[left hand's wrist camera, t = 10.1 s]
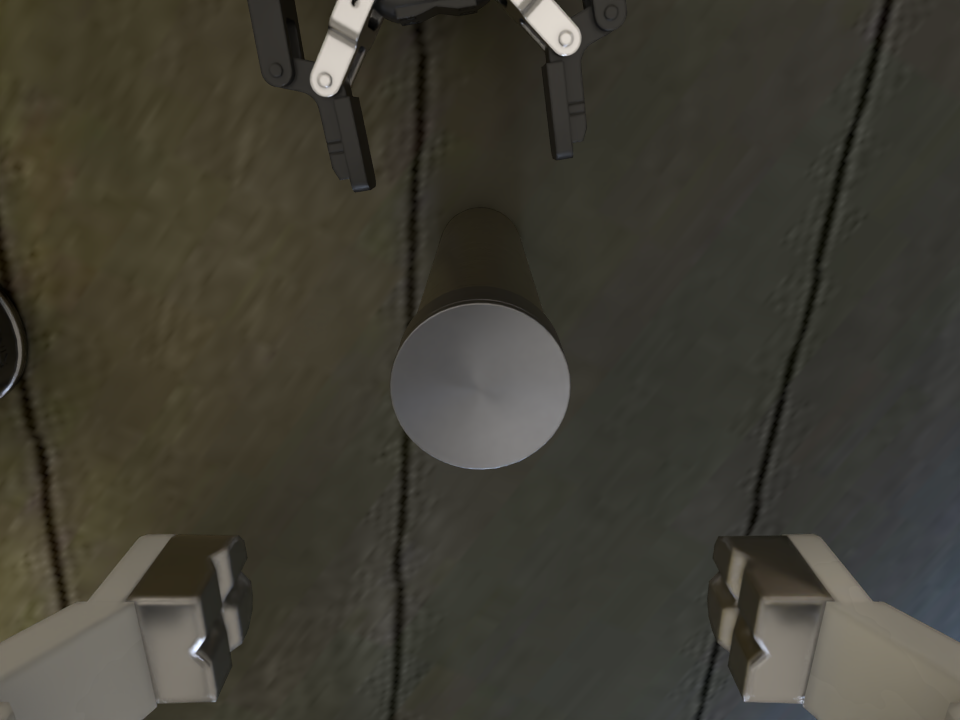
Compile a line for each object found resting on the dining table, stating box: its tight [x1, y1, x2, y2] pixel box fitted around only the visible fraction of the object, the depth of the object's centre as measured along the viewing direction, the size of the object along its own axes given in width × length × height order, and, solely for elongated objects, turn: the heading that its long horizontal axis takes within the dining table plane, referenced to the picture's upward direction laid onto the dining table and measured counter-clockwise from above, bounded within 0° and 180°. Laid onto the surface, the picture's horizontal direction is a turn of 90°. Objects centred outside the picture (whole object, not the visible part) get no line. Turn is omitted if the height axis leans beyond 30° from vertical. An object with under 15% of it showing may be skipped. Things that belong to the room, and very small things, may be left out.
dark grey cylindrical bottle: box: [417, 208, 543, 313], centre depth 27 cm, size 4×4×19 cm
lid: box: [390, 286, 571, 469], centre depth 18 cm, size 5×5×2 cm
